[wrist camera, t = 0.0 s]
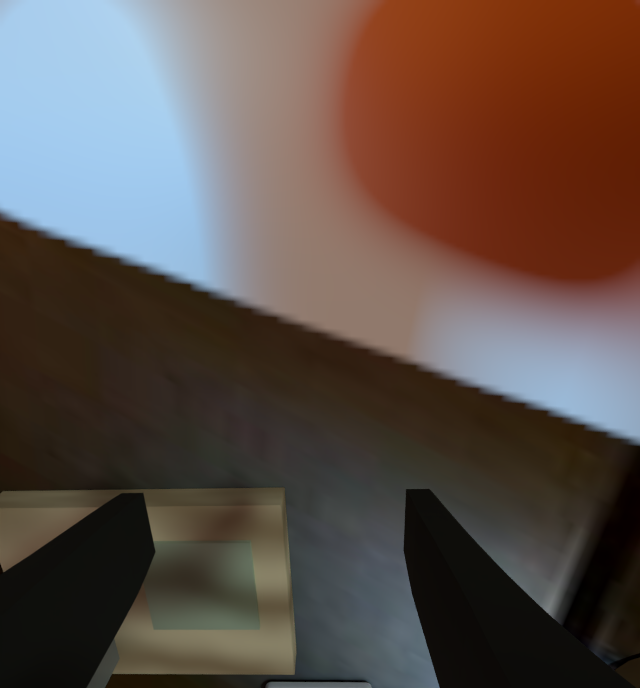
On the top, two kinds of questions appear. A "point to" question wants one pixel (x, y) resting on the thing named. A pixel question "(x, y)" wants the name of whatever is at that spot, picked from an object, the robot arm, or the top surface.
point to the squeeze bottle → (631, 672)
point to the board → (186, 576)
